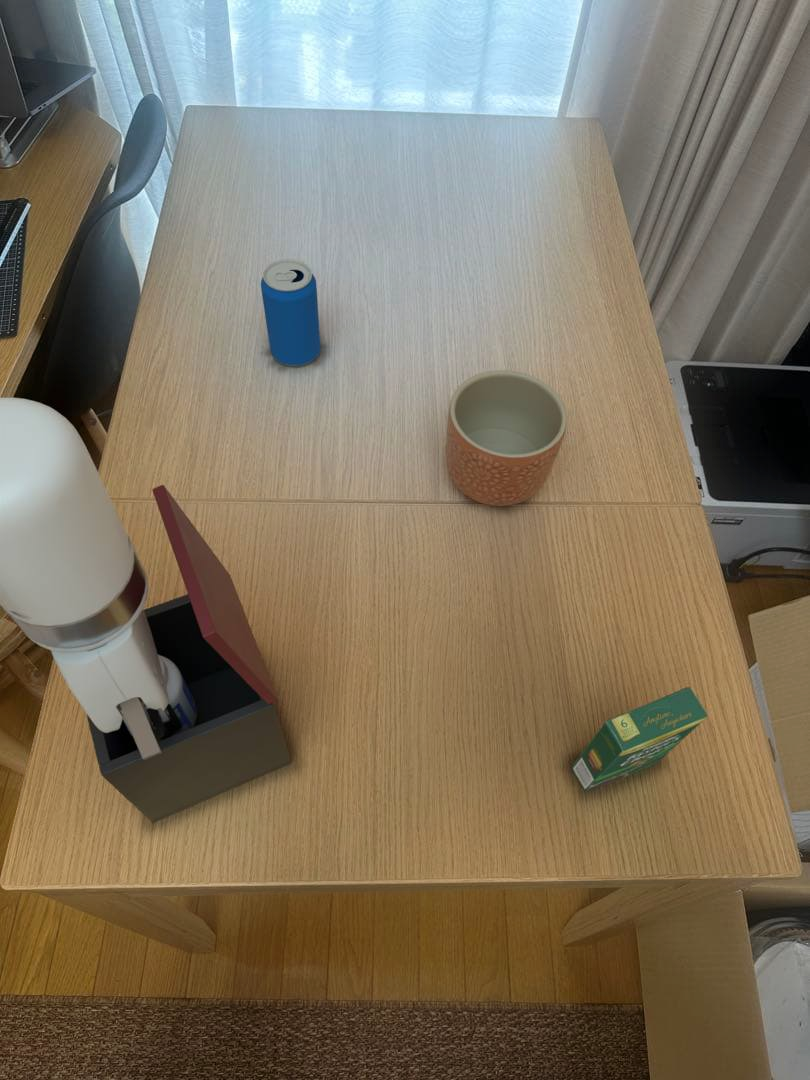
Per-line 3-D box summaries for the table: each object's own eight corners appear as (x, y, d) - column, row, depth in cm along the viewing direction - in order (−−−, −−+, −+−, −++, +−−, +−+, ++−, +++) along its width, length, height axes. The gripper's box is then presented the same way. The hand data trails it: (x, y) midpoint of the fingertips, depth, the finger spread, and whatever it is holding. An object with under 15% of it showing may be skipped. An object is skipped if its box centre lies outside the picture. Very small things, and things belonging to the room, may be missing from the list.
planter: (419, 482, 85) (425, 417, 76) (479, 420, 91) (491, 352, 81) (509, 539, 81) (527, 478, 72) (566, 470, 87) (590, 405, 78)
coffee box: (581, 797, 66) (623, 752, 55) (566, 767, 68) (604, 717, 57) (658, 765, 68) (713, 716, 57) (642, 737, 70) (693, 683, 59)
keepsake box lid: (202, 637, 42) (215, 631, 42) (151, 488, 48) (163, 483, 48) (268, 705, 54) (278, 700, 54) (221, 579, 60) (230, 575, 60)
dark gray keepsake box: (153, 823, 64) (100, 775, 51) (121, 705, 69) (67, 636, 57) (291, 763, 67) (274, 705, 55) (251, 655, 73) (226, 579, 60)
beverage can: (323, 368, 94) (318, 290, 84) (272, 372, 94) (261, 294, 84) (318, 333, 98) (312, 254, 88) (269, 337, 97) (257, 258, 87)
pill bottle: (145, 683, 64) (112, 632, 56) (206, 692, 63) (183, 643, 55) (122, 745, 61) (85, 701, 53) (187, 755, 60) (159, 712, 52)
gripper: (-14, 493, 46) (79, 625, 61) (34, 741, 38) (129, 822, 53) (108, 457, 48) (169, 593, 63) (179, 686, 40) (230, 779, 55)
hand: (150, 697), depth 58 cm, fingers closed on pill bottle, 5 cm apart
